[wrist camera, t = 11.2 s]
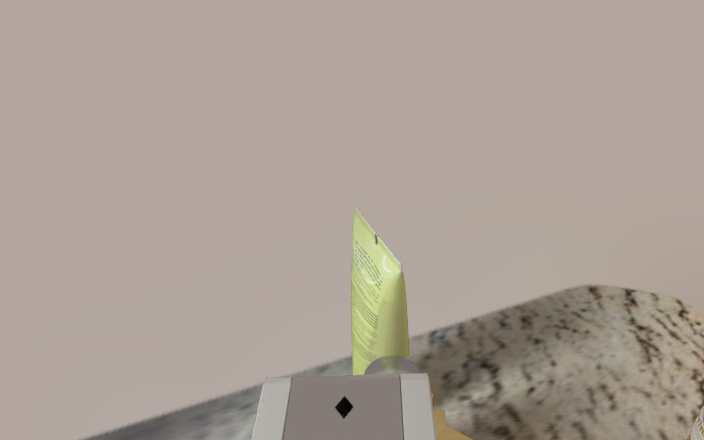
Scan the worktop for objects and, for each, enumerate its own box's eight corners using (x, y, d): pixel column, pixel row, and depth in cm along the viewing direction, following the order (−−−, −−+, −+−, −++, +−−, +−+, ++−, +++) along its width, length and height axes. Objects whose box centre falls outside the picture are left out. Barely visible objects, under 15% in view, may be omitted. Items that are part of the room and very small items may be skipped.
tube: (425, 397, 47) (427, 220, 36) (405, 444, 43) (401, 263, 32) (368, 377, 49) (354, 205, 38) (344, 421, 45) (321, 244, 34)
